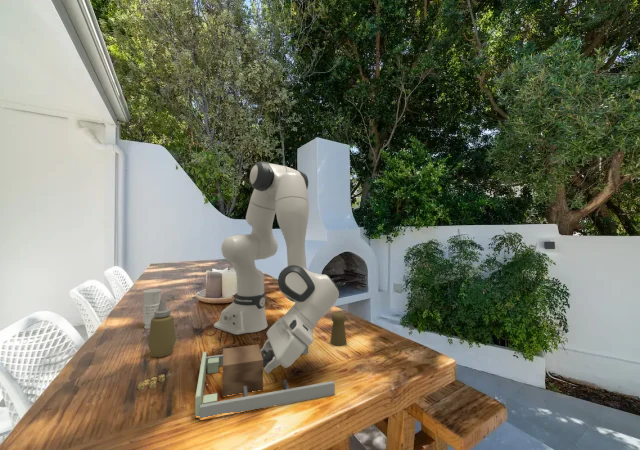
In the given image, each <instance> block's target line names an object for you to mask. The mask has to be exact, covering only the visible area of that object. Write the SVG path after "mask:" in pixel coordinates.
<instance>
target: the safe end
mask: <svg viewBox="0 0 640 450" xmlns="http://www.w3.org/2000/svg"><path fill="white" fill-rule="evenodd" d="M201 356H202V357H201V361H200V368H199V374H198V381H197V386H196V392H195V397H194V398H195V402H194V404H195V408H194V409H195V410H194V411H195V414H194V417H195V416H200V405H202V404H208V403H213V402H218V393H217V392H216V393H211V394H205V395H204V392H203V391H204V390H205V382H206V376H207V374H208V375H209V374H215V373H219V370H220V369H219V367H220V366H219V357H217V358H210V359H208V368H206V358H207V357H208V356H207V351H202V355H201ZM206 373H207V374H206ZM202 399H203V400H202Z"/></svg>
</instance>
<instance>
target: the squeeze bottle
mask: <svg viewBox="0 0 640 450" xmlns="http://www.w3.org/2000/svg"><path fill="white" fill-rule="evenodd" d="M165 300H166V299H165V298H163V299H162V298H161V300H160V304H159V308H158V310H156V311H155V312H154V318H153V319H152V320H151V324H150V329H149V334H148V342H147V346H148V349H149V351H150V354H151V356H152V357H153V358H163V357H166V356H168V355H170V354H171V353H173V350H174V347H175V344H176V340H177V339H176V331H175V322H174V317H173V315H172V314H171V309H170V308H168V307H167V305H166V301H165Z"/></svg>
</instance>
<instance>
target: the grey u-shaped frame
mask: <svg viewBox="0 0 640 450" xmlns="http://www.w3.org/2000/svg"><path fill="white" fill-rule="evenodd" d="M309 348H310V346H307V345H306V347H305V350H304V351H303V353H302V354H301V355H307V354H309V352H310V351H309ZM301 355H300V356H301ZM274 356H275V354H274V352H273V349H272V347H270V349H269V350H268V352H267V354H266V355H265V357H262V358H263V368H264V366H265V365H266V363H267V362H268V363H269V362H270V361H272V360H273V357H274ZM217 357H219V367H223V354H218V355H209V356H207V357H206V369H208V359H210V358H217ZM335 391H336V383H335V381H334V380H330V381H326V382H325V381H324V382H319V383H314V384H309V385H303V386H298V387H291V388H290V386H289V384H288V381H287V379H285V378H284V379H282V389H281V390H274V391H271V392H265V393H264V392H263V393H259V394H253V395H249V393H248V392H247V386H243V394H242V397H235V398H231V399H225V400H220V401H217V402H213V403H208V404H203V403H202V405H200V418H203V417H208V416H213V415H217V414H222V413H230V412H241V411H247V410H254V409H259V408H264V409H266V408H265V407H269V408H271V407H270V406H274V405H279V406H283V405H288V404H294V403H299V402H303V401H304V402H305V401H309V400H315V399H318V398H325V397H330V396H334V395H335V393H336V392H335ZM282 404H283V405H282ZM274 407H275V406H274ZM259 410H260V409H259ZM254 411H255V410H254ZM200 418H199V419H200Z"/></svg>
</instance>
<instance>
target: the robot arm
mask: <svg viewBox="0 0 640 450" xmlns="http://www.w3.org/2000/svg"><path fill="white" fill-rule="evenodd" d="M249 183H250V185H251V187H252V188H253V190H252V194H251V196H250V200H249V203H248V208H247V210H246V215H245V220H246V223H247V224H248V225H249V226H250V227H251V233H250V234H235V235H231V236H227V237H226V238H224V240H223V242H222V243H221V253H222V257H223V258H224V259H225V260H226V261H228V262H229V263H230V264H231V266H232V267H233V269H234V272H235V275H236V291H237V292H236V293H235V294H233V295H231V299H233V301H232V303H230V304H229V305H227V306H226V307H225V308H224V309H223V310H222V311H221V314H220V315H219V320H217V321H216V322H215V323H214V324H213V328H215V329H218V330H220V331H224V332H226V333H230V334H232V335H243V334H250V333H251V334H252V333H257V332H260V331H264V330H265V329H266V328H268V327H269V325H268V322H267V318H266V317H267V316H266V308H265V305H266V292H265V274H264V273H263V271H261V270H259V269H258V268H257V267H256V262H255V261H257V260H265V259H268V258H271V257H272V256H273V257H274V255H276V253H277V252H278V250H279V248H278V247H279V246H278V245H279V244H278V241H277V239H276V237H275V236H274V234H273V226H274V225H273V223H274V221H275V218H276V221H277V225H278V226H279V230H280V232H281V233H282V236H283V238H284V241H285V245H286V260H287V262H286V263H287V266H286V267H284V268H283V269H282V270H281V271H280V272H279V275H278V278H277V283H278V285H277V286H278V287H279V290H280V292H281V293H282V294H283V295H284V296H285V297H286V299H288V300H289V301H291V302H293V303H294V304H293V306H292V307H290V308H289V310H288V311H287V312H286V313H285V314H284V315H283V316H282V317H280V318H278V319H277V320H276V321H275V322H274V323H273V324H272V325H271V326H270V327H269V328H268V330H267V331H266V336H267V339H266V340H265V342H264V344H263V346H262V348H260V351H261V354H262V357H265V355H266V354H267V352H268V350H269V349H270V348H272V349H273V352H274V354H275V356H274V357H273V360H272V361H270V362H269V363H268V362H267V363H266V365H265V366H264V367H263V372H265V373H266V374H270V373H271V372H272V371H273V370H274V369H276V368H277V367H280V366H283V368H285V369H287V368H289V367H291V366H292V365H293V364H294V363H295V362H296V361H297V360H298V359H299V357H300V356H301V354H302V353H303V351H304V350H305V347H306V345H307V346H309V347H310V346H311V345H312V343H313V342H314V329H315V328H316V327H317V325H318V323H319V321H320V320H321V319H322V318H323V317H325V316H326V315H327V314H328V312H329V311H330V310H331V309H332V308H333V306H334V305H335V304H336V302H337V301H338V299H339V297H340V291H339V288H338V286H337V284H336V283H335V281H334V280H333V279H332V278H331V277H330V276H329V275H328V274H321V273H316V272H312V271H310V270H308V269H307V263H306V262H307V261H306V259H307V257H306V234H307V227H308V221H309V211H310V209H309V208H310V207H309V205H310V204H309V196H308V195H309V194H308V188H309V178H308V176H307V174H306V173H304V172H303V171H301V170H296V169H294V168H292V167H288V166H287V165H281V164H277V163H269V162H267V161H258V162H256V163H255V164H253V166H252V167H251V170H250V173H249ZM275 215H276V217H275ZM302 355H303V354H302Z"/></svg>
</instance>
